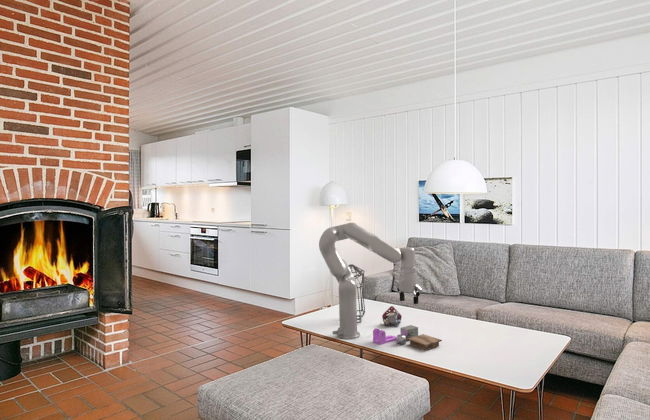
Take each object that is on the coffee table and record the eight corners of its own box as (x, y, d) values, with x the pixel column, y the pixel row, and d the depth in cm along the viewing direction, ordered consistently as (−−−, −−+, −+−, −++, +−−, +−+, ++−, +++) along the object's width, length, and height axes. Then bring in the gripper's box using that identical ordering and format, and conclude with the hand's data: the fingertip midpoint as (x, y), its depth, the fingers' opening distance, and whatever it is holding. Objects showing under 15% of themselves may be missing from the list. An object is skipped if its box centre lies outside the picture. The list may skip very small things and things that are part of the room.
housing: (407, 341, 217) (407, 330, 217) (400, 339, 221) (400, 327, 221) (418, 338, 222) (418, 327, 222) (411, 336, 226) (411, 325, 226)
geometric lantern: (366, 324, 248) (363, 266, 248) (339, 324, 251) (337, 266, 250) (367, 317, 264) (365, 262, 263) (342, 317, 266) (340, 262, 266)
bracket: (380, 345, 213) (380, 331, 213) (373, 342, 217) (372, 328, 217) (399, 340, 220) (398, 326, 220) (391, 337, 225) (391, 324, 224)
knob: (401, 345, 211) (401, 337, 211) (395, 343, 214) (395, 335, 214) (407, 343, 213) (407, 336, 213) (401, 341, 217) (401, 333, 217)
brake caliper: (401, 317, 254) (401, 304, 246) (402, 333, 245) (402, 320, 238) (382, 317, 255) (381, 304, 248) (382, 332, 246) (382, 320, 239)
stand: (425, 351, 202) (425, 344, 202) (407, 344, 212) (407, 338, 212) (441, 345, 209) (441, 339, 209) (423, 339, 219) (423, 334, 219)
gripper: (391, 269, 230) (392, 300, 230) (416, 273, 216) (416, 306, 216) (400, 268, 235) (401, 298, 235) (425, 271, 221) (426, 303, 221)
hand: (409, 302), depth 226 cm, fingers open, 9 cm apart
